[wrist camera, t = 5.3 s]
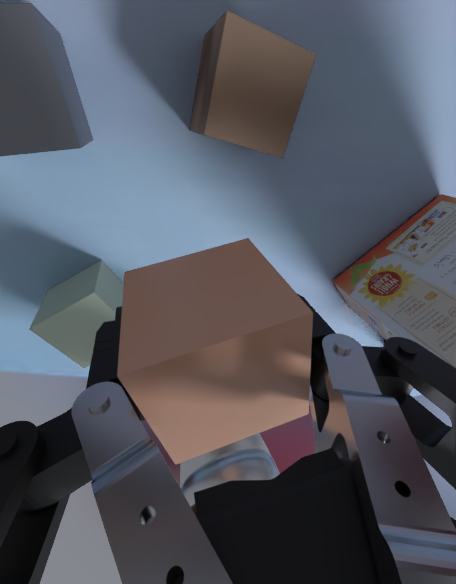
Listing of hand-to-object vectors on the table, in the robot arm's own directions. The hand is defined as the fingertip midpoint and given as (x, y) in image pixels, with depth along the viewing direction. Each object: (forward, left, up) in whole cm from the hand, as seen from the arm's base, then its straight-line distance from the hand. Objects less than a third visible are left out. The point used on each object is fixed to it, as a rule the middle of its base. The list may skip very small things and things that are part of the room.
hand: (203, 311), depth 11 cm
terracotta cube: (0, 0, -1) cm, 1 cm away
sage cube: (+6, -7, -12) cm, 16 cm away
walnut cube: (-8, +5, -12) cm, 16 cm away
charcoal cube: (-8, -7, -12) cm, 16 cm away
